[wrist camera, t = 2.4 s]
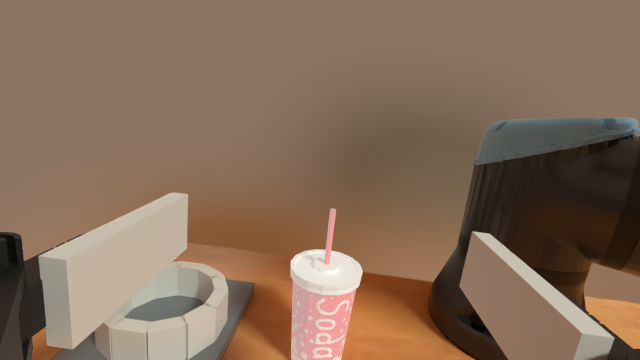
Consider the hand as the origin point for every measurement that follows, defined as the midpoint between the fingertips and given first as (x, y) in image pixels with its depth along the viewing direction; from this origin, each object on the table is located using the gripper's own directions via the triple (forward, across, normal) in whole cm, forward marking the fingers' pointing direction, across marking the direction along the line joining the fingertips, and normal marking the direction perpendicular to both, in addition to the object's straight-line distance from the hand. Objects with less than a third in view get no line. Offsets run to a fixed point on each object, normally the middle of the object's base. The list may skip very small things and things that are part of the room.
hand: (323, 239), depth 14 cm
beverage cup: (+11, 0, -16) cm, 19 cm away
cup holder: (+11, -14, -16) cm, 24 cm away
